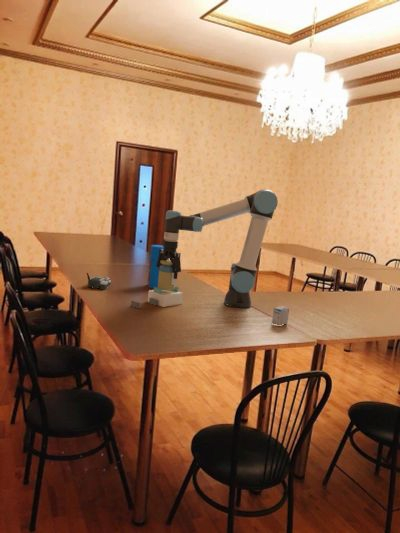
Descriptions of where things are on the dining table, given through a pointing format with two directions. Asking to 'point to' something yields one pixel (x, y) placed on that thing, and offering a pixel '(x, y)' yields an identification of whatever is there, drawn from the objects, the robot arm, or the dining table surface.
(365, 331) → the dining table surface
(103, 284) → the communication device
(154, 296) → the block
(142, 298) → the dining table surface
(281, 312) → the medicine box
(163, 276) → the jar
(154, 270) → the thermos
